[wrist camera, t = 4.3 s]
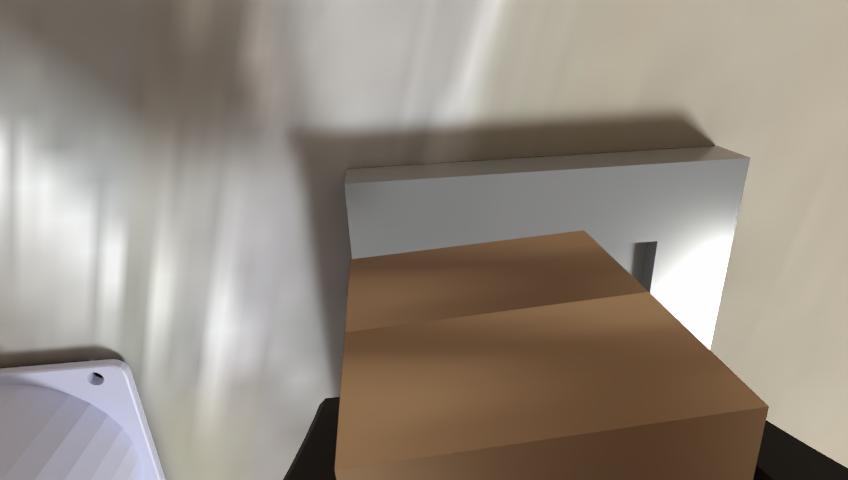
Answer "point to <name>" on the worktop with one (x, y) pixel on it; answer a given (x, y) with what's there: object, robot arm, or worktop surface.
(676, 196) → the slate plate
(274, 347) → the worktop surface
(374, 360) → the brown block
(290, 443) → the worktop surface
